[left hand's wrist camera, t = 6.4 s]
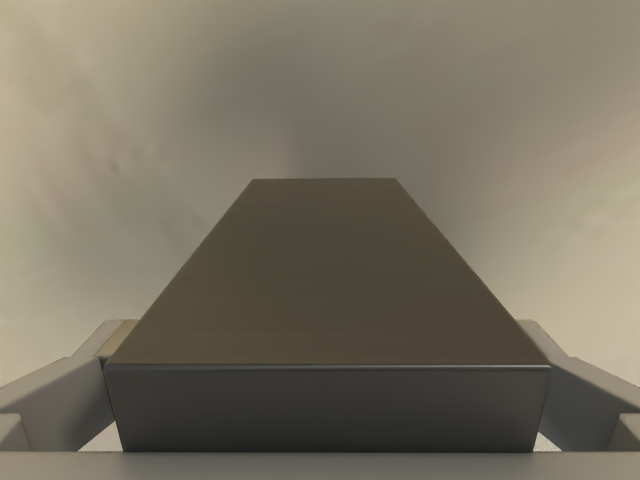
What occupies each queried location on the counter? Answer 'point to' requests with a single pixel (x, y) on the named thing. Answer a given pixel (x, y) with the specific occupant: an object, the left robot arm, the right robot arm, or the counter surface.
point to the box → (327, 336)
